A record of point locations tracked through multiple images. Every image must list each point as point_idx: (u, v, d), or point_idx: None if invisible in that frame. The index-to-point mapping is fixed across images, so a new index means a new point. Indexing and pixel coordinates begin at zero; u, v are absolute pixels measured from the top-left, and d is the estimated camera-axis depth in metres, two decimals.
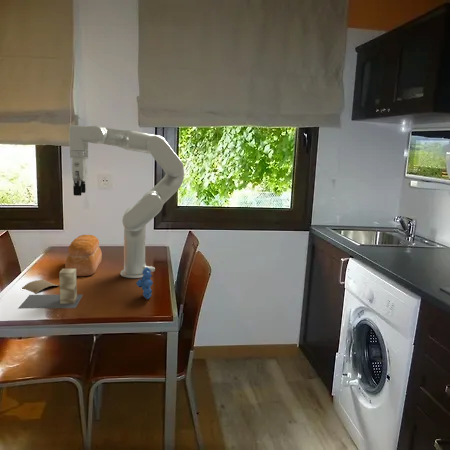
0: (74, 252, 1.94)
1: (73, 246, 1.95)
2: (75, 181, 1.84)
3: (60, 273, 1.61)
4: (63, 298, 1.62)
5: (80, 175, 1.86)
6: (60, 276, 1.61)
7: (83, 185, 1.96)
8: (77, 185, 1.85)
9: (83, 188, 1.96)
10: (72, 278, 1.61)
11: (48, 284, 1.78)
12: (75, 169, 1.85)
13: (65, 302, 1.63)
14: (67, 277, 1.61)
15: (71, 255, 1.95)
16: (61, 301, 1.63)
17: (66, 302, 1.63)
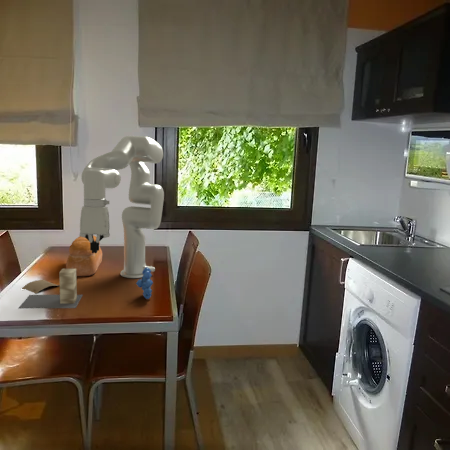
0: (75, 252, 1.94)
1: (74, 246, 1.96)
2: (103, 237, 1.62)
3: (60, 273, 1.61)
4: (63, 298, 1.62)
5: None
6: (60, 276, 1.61)
7: None
8: None
9: None
10: (72, 278, 1.61)
11: (48, 284, 1.78)
12: (108, 220, 1.61)
13: (65, 302, 1.63)
14: (67, 277, 1.61)
15: (72, 255, 1.95)
16: (61, 301, 1.63)
17: (66, 302, 1.63)
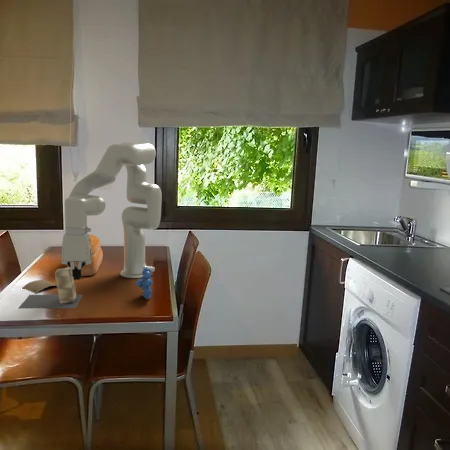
0: None
1: None
2: (85, 264, 1.63)
3: (55, 273, 1.60)
4: (62, 298, 1.62)
5: None
6: (56, 276, 1.61)
7: None
8: None
9: None
10: (68, 277, 1.61)
11: (48, 284, 1.78)
12: (90, 247, 1.62)
13: (65, 301, 1.63)
14: (63, 276, 1.61)
15: None
16: (61, 301, 1.63)
17: (66, 301, 1.63)
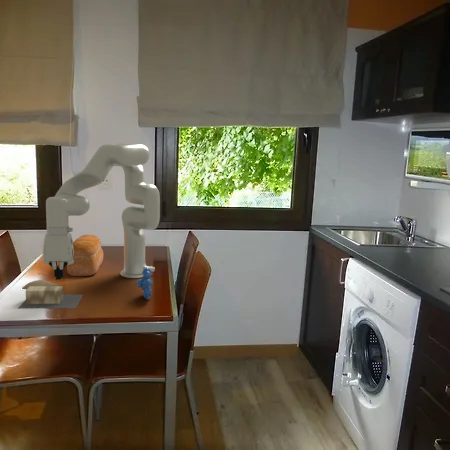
0: (75, 252, 1.94)
1: (75, 246, 1.96)
2: (67, 264, 1.63)
3: (27, 302, 1.61)
4: (54, 300, 1.62)
5: None
6: (30, 302, 1.61)
7: None
8: None
9: None
10: (32, 291, 1.60)
11: (48, 284, 1.78)
12: (72, 247, 1.61)
13: (58, 298, 1.62)
14: (31, 296, 1.61)
15: None
16: (57, 302, 1.62)
17: (58, 297, 1.62)
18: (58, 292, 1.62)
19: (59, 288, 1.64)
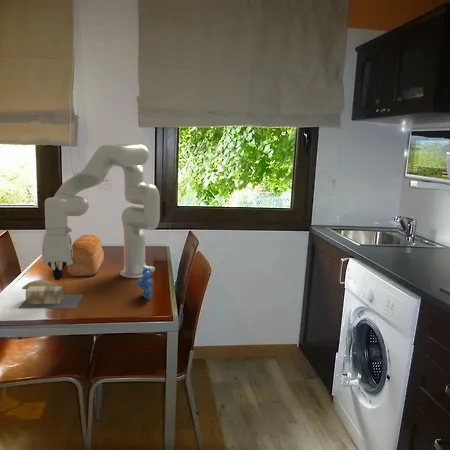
0: (76, 252, 1.94)
1: (75, 246, 1.96)
2: None
3: (27, 302, 1.61)
4: (54, 300, 1.62)
5: None
6: (30, 302, 1.61)
7: None
8: None
9: None
10: (32, 291, 1.60)
11: (48, 284, 1.78)
12: (70, 247, 1.61)
13: (58, 298, 1.62)
14: (31, 296, 1.61)
15: (73, 255, 1.95)
16: (57, 302, 1.62)
17: (58, 297, 1.62)
18: (58, 292, 1.62)
19: (59, 288, 1.64)
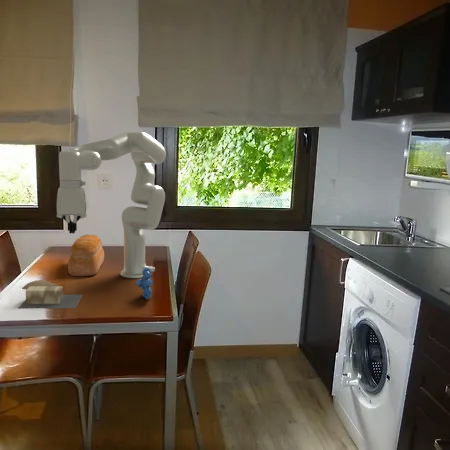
0: (76, 252, 1.95)
1: (76, 246, 1.96)
2: (80, 218, 1.65)
3: (27, 302, 1.61)
4: (54, 300, 1.62)
5: None
6: (30, 302, 1.61)
7: None
8: None
9: None
10: (32, 291, 1.60)
11: (48, 284, 1.78)
12: (84, 201, 1.64)
13: (58, 298, 1.62)
14: (31, 296, 1.61)
15: (74, 255, 1.95)
16: (57, 302, 1.62)
17: (58, 297, 1.62)
18: (58, 292, 1.62)
19: (59, 288, 1.64)
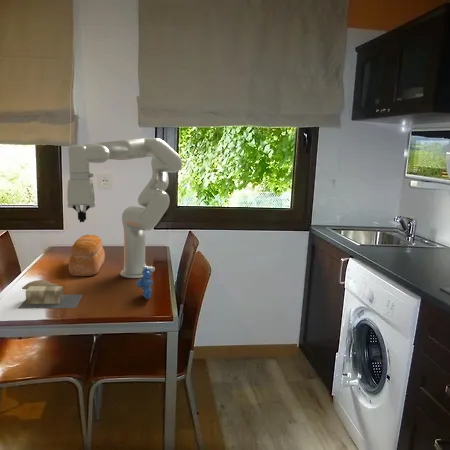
0: (77, 252, 1.95)
1: (76, 246, 1.96)
2: (89, 207, 1.78)
3: (27, 302, 1.61)
4: (54, 300, 1.62)
5: None
6: (30, 302, 1.61)
7: None
8: None
9: None
10: (32, 291, 1.60)
11: (48, 284, 1.78)
12: (93, 191, 1.76)
13: (58, 298, 1.62)
14: (31, 296, 1.61)
15: (74, 255, 1.95)
16: (57, 302, 1.62)
17: (58, 297, 1.62)
18: (58, 292, 1.62)
19: (59, 288, 1.64)
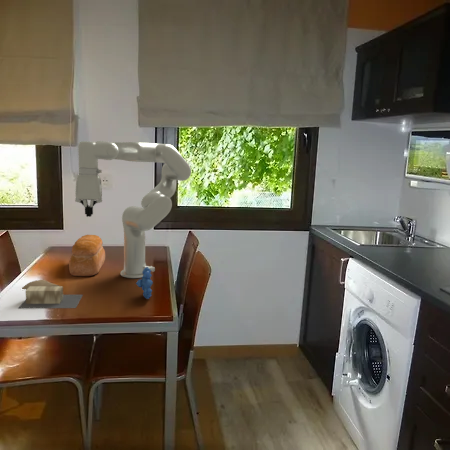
0: (77, 252, 1.95)
1: (77, 246, 1.96)
2: None
3: (27, 302, 1.61)
4: (54, 300, 1.62)
5: None
6: (30, 302, 1.61)
7: None
8: None
9: None
10: (32, 291, 1.60)
11: (48, 284, 1.78)
12: (100, 187, 1.81)
13: (58, 298, 1.62)
14: (31, 296, 1.61)
15: (75, 255, 1.95)
16: (57, 302, 1.62)
17: (58, 297, 1.62)
18: (58, 292, 1.62)
19: (59, 288, 1.64)
